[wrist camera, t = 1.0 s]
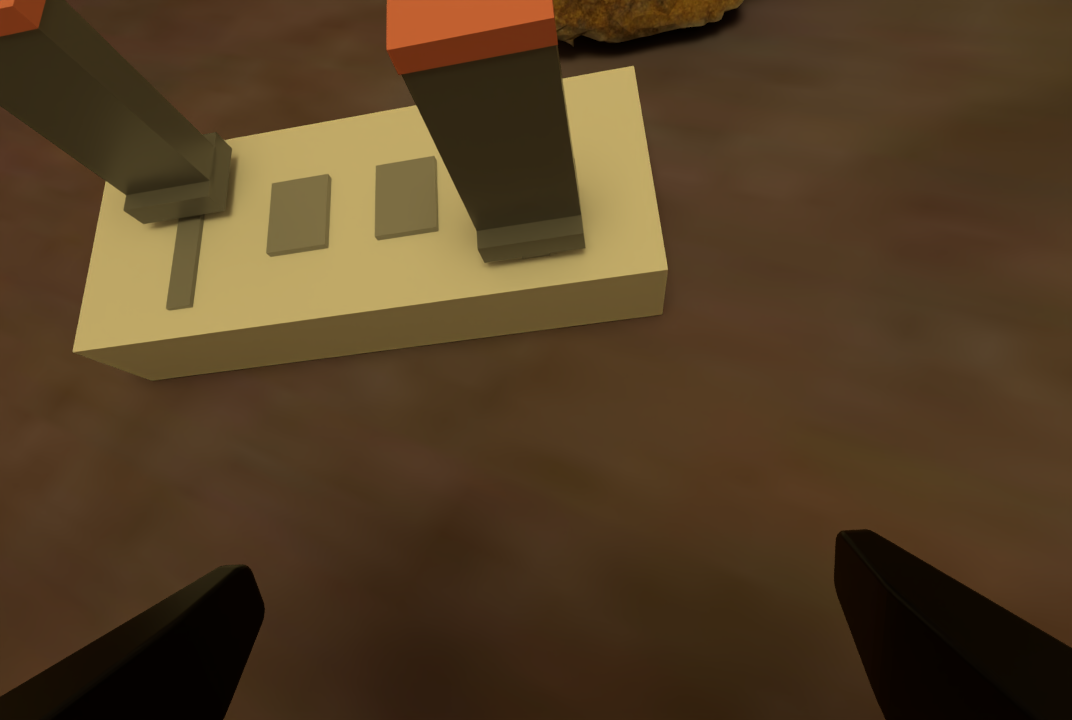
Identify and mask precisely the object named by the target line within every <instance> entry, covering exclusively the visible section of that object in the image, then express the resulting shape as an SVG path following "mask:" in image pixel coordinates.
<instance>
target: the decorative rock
mask: <svg viewBox="0 0 1072 720" xmlns="http://www.w3.org/2000/svg"><path fill="white" fill-rule="evenodd" d="M743 1H744V0H553V5H554V14H555V23H556V31H557V40H561V41H565V42H567V43H569V44H571V45H572V46H573V48H574V39H575V38H576V37H578V36H580V35H584V36H586V37H589V38H592V39H595V40H597V41H606V43H619V42H623V41H628V40H632V39H636V38H640V37H645V36H651V35H654V34H658V33H661V32H665V31H670V30H674V29H679V28H681V29H685V28H686V27H695V26H703V25H705V24H706V23H708V22H717V21H719V20H721V19H722V16H723V14H724V12H727V11H730V10H732V9H735V8H738V7H739V6H740V5H741V3H742V2H743Z"/></svg>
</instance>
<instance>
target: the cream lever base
mask: <svg viewBox="0 0 1072 720" xmlns="http://www.w3.org/2000/svg"><path fill="white" fill-rule="evenodd" d="M563 86H564V93H565V99H566V106H567V113H568V120H569V127H570V134H571V141H572V147H573V154H574V158H575V165H576V172H577V179H578V188H579V196H580V205H581V213H582V222H583V230H584V238H585V247H586V248H583V249H576V250H569V251H563V252H556V253H549V254H542V255H535V256H528V257H521V258H514V259H508V260H501V261H494V262H487V263H484V261H483V259H482V257H481V255H480V253H479V251H478V249H477V231H476V229H475V227H474V225H473V223H472V220H471V218H470V216H469V214H468V212H467V210H466V208H465V206H464V204H463V202H462V200H461V198H460V195H459V193H458V191H457V189H456V187H455V185H454V183H453V181H452V179H451V177H450V175H449V173H448V170H447V168H446V166H445V164H444V162H443V160H442V158H441V156H440V154H439V152H438V150H437V148H436V145H435V143H434V141H433V139H432V137H431V135H430V133H429V131H428V129H427V127H426V125H425V122H424V120H423V118H422V116H421V114H420V112H419V110H418V108H417V106H416V105H415V106H410V107H404V108H399V109H393V110H388V111H382V112H377V113H371V114H366V115H360V116H355V117H349V118H344V119H338V120H333V121H327V122H322V123H316V124H311V125H305V126H300V127H294V128H289V129H283V130H278V131H272V132H267V133H261V134H256V135H250V136H245V137H239V138H234V139H228V140H224V141H225V142H226V143H227V144H228V145H229V146H230V147H231V148H232V155H231V163H230V172H229V181H228V190H227V199H226V208H225V211H220V212H214V213H208V214H202V215H196V216H190V217H184V218H178V219H172V220H166V221H160V222H154V223H148V224H142V223H141V222H139V221H138V220H136V219H135V218H134V217H132V216H131V215H129V214H128V213H126V212H125V211H123V209H124V204H125V198H126V195H125V194H124V193H122V192H121V191H119V190H118V189H116V188H115V187H114V186H112V185H111V184H109V183H108V182H107V181H106V183H105V189H104V194H103V199H102V204H101V209H100V214H99V219H98V224H97V230H96V235H95V240H94V245H93V250H92V255H91V260H90V266H89V271H88V276H87V281H86V286H85V291H84V296H83V302H82V307H81V312H80V317H79V322H78V327H77V332H76V337H75V343H74V348H73V353H76V354H79V355H82V356H84V357H87V358H90V359H93V360H95V361H98V362H101V363H104V364H107V365H109V366H112V367H115V368H118V369H120V370H123V371H126V372H129V373H131V374H134V375H137V376H140V377H142V378H145V379H148V380H151V381H154V380H161V379H169V378H177V377H184V376H192V375H200V374H208V373H215V372H223V371H231V370H238V369H246V368H254V367H261V366H269V365H277V364H285V363H292V362H300V361H308V360H315V359H323V358H331V357H339V356H346V355H354V354H362V353H369V352H377V351H385V350H392V349H400V348H408V347H416V346H423V345H431V344H439V343H446V342H454V341H462V340H470V339H477V338H485V337H493V336H500V335H508V334H516V333H523V332H531V331H539V330H547V329H554V328H562V327H570V326H577V325H585V324H593V323H601V322H608V321H616V320H624V319H631V318H639V317H647V316H655V315H662V313H663V305H664V297H665V289H666V281H667V273H668V267H667V261H666V255H665V249H664V243H663V237H662V231H661V225H660V219H659V213H658V207H657V201H656V196H655V190H654V184H653V178H652V172H651V166H650V160H649V154H648V148H647V142H646V136H645V130H644V124H643V118H642V112H641V106H640V100H639V94H638V89H637V83H636V77H635V71H634V66H630V67H624V68H619V69H613V70H608V71H602V72H597V73H591V74H586V75H580V76H575V77H569V78H564V79H563Z"/></svg>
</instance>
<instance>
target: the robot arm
mask: <svg viewBox="0 0 1072 720" xmlns="http://www.w3.org/2000/svg"><path fill="white" fill-rule="evenodd" d="M834 583H835V589H836V593H837V596H838V599H839V601H840V604H841V607H842V609H843V612H844V615H845V617H846V620H847V623H848V625H849V628H850V631H851V634H852V636H853V639H854V642H855V644H856V647H857V650H858V652H859V655H860V658H861V660H862V663H863V666H864V668H865V671H866V674H867V676H868V679H869V682H870V684H871V687H872V689H873V692H874V694H875V697H876V699H877V702H878V704H879V706H880V708H881V710H882V713H883V715H884V717H885V719H886V720H1072V648H1071V647H1069V646H1068V645H1066V644H1064V643H1063V642H1061V641H1059V640H1057V639H1056V638H1054V637H1052V636H1051V635H1049V634H1047V633H1045V632H1044V631H1042V630H1040V629H1039V628H1037V627H1035V626H1034V625H1032V624H1030V623H1028V622H1027V621H1025V620H1023V619H1022V618H1020V617H1018V616H1017V615H1015V614H1013V613H1011V612H1010V611H1008V610H1006V609H1005V608H1003V607H1001V606H999V605H998V604H996V603H994V602H993V601H991V600H989V599H988V598H986V597H984V596H982V595H981V594H979V593H977V592H976V591H974V590H972V589H970V588H969V587H967V586H965V585H964V584H962V583H960V582H959V581H957V580H955V579H953V578H952V577H950V576H948V575H947V574H945V573H943V572H941V571H940V570H938V569H936V568H935V567H933V566H931V565H930V564H928V563H926V562H924V561H923V560H921V559H919V558H918V557H916V556H914V555H912V554H911V553H909V552H907V551H906V550H904V549H902V548H901V547H899V546H897V545H895V544H894V543H892V542H890V541H889V540H887V539H885V538H883V537H882V536H880V535H878V534H877V533H875V532H873V531H871V530H867V529H862V530H845V531H841V532H839V533H838V535H837V537H836V546H835V568H834ZM264 612H265V608H264V602H263V599H262V597H261V594H260V591H259V589H258V586H257V583H256V581H255V578H254V575H253V573H252V571H251V569H250V568H249V567H248V566H246V565H226V566H221V567H218V568H217V569H215V570H213V571H211V572H210V573H208V574H206V575H205V576H203V577H201V578H200V579H198V580H196V581H195V582H193V583H191V584H190V585H188V586H186V587H184V588H183V589H181V590H179V591H178V592H176V593H174V594H173V595H171V596H169V597H168V598H166V599H164V600H163V601H161V602H159V603H158V604H156V605H154V606H152V607H151V608H149V609H147V610H146V611H144V612H142V613H141V614H139V615H137V616H136V617H134V618H132V619H131V620H129V621H127V622H125V623H124V624H122V625H120V626H119V627H117V628H115V629H114V630H112V631H110V632H109V633H107V634H105V635H104V636H102V637H100V638H99V639H97V640H95V641H93V642H92V643H90V644H88V645H87V646H85V647H83V648H82V649H80V650H78V651H77V652H75V653H73V654H72V655H70V656H68V657H66V658H65V659H63V660H61V661H60V662H58V663H56V664H55V665H53V666H51V667H50V668H48V669H46V670H45V671H43V672H41V673H40V674H38V675H36V676H34V677H33V678H31V679H29V680H28V681H26V682H24V683H23V684H21V685H19V686H18V687H16V688H14V689H13V690H11V691H9V692H8V693H6V694H4V695H2V696H1V697H0V720H223V719H224V717H225V715H226V712H227V710H228V707H229V705H230V703H231V700H232V698H233V695H234V693H235V690H236V688H237V685H238V683H239V680H240V678H241V675H242V673H243V670H244V668H245V665H246V663H247V660H248V658H249V655H250V652H251V650H252V647H253V645H254V642H255V640H256V637H257V635H258V632H259V630H260V627H261V625H262V622H263V619H264Z"/></svg>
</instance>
